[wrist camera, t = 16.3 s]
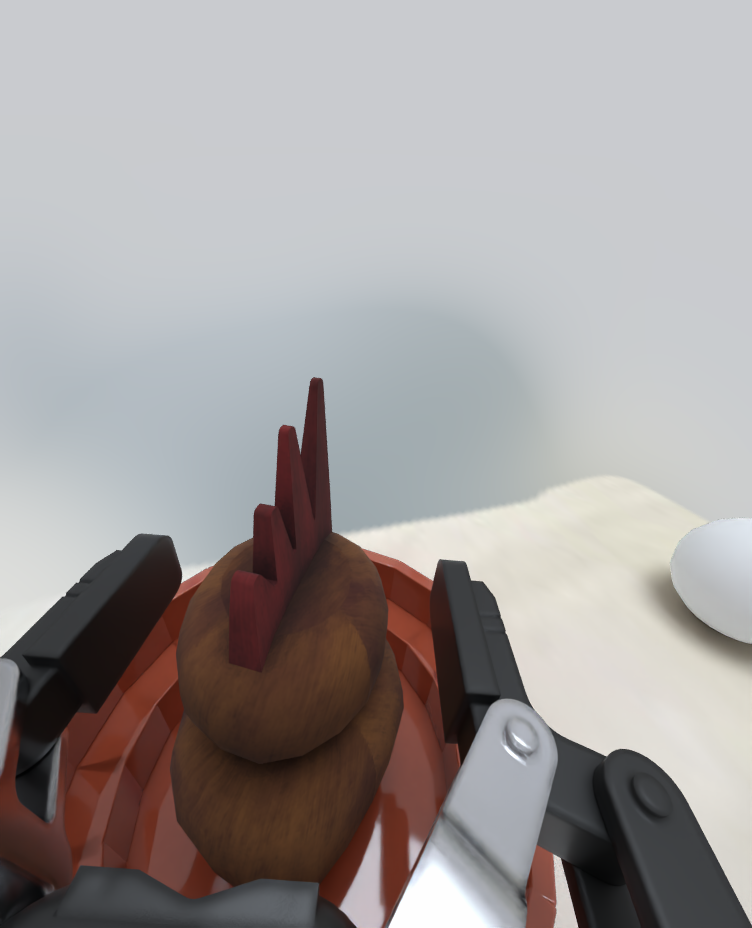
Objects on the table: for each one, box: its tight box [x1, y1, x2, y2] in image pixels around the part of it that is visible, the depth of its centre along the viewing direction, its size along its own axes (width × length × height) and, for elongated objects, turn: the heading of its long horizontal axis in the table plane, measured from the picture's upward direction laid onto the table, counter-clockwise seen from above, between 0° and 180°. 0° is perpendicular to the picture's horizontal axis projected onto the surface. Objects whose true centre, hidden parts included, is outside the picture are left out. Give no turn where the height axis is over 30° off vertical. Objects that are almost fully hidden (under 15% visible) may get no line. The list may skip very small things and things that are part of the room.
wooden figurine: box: [170, 377, 404, 887], centre depth 9 cm, size 7×6×15 cm
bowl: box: [64, 548, 557, 928], centre depth 12 cm, size 15×15×6 cm
